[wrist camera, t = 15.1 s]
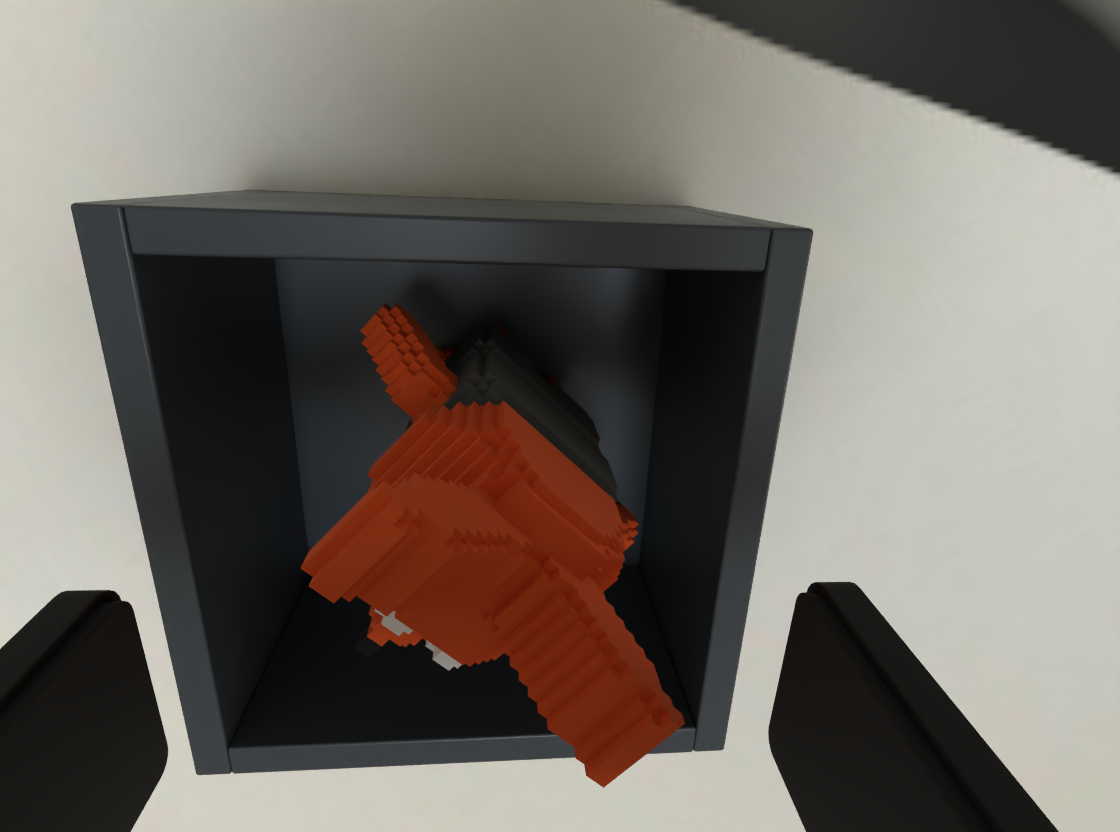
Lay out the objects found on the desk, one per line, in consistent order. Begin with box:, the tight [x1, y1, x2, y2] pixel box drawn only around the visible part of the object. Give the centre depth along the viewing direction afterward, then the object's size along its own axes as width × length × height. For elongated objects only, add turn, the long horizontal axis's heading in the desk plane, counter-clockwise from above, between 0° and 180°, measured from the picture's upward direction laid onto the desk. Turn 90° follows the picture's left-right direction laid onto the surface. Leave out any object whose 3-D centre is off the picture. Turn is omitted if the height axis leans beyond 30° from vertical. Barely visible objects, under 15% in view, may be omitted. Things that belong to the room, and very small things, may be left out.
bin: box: [71, 190, 813, 775], centre depth 17 cm, size 13×13×8 cm
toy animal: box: [301, 303, 685, 787], centre depth 14 cm, size 8×6×12 cm
